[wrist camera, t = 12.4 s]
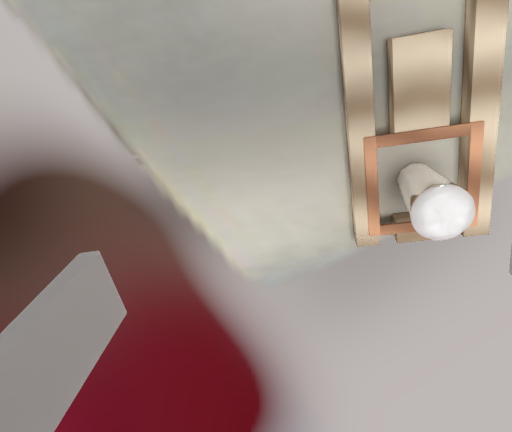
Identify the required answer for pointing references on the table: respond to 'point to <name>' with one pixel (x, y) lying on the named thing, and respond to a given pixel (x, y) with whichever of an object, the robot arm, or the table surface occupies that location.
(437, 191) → the milkshake
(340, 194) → the table surface
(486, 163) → the wooden slide rule
